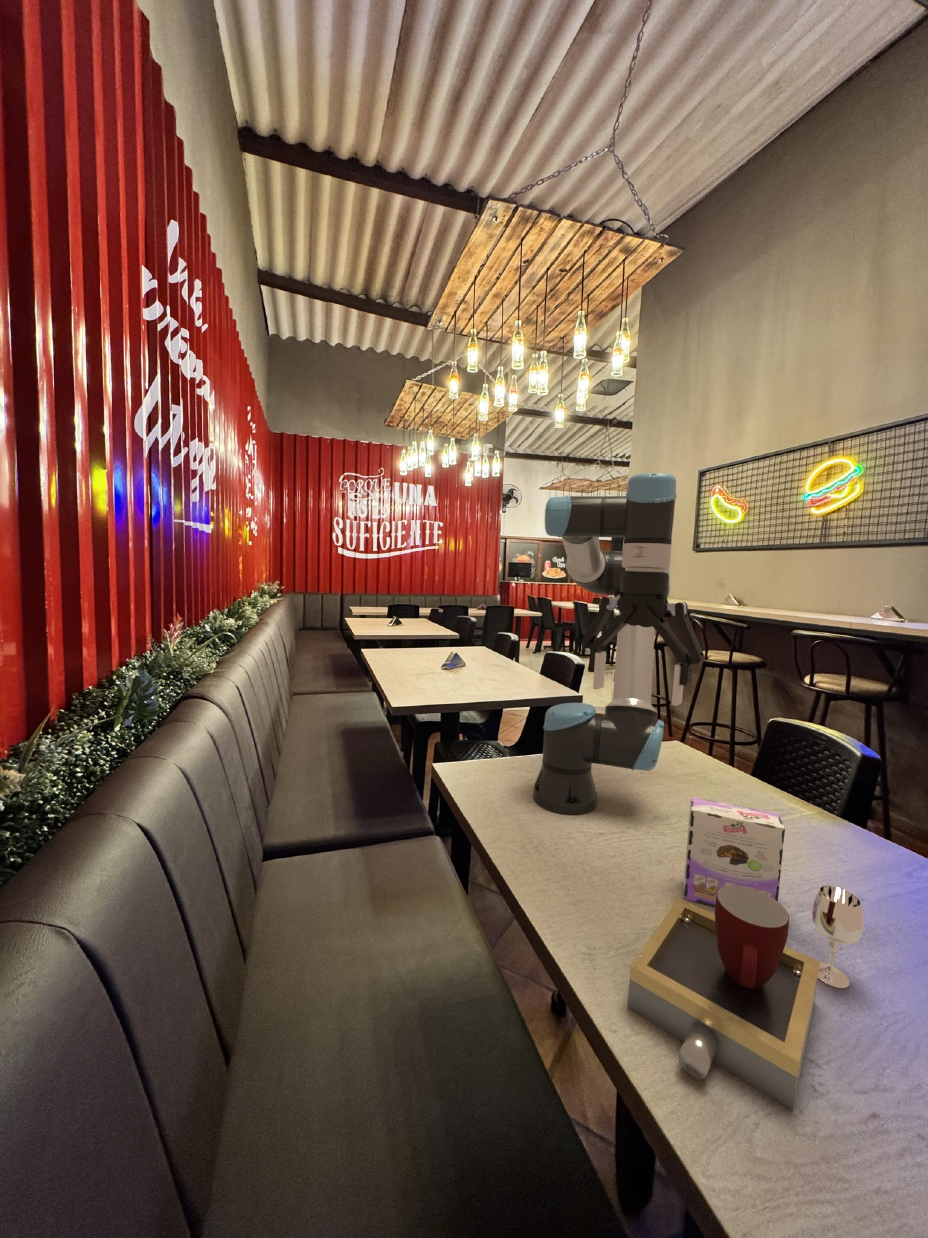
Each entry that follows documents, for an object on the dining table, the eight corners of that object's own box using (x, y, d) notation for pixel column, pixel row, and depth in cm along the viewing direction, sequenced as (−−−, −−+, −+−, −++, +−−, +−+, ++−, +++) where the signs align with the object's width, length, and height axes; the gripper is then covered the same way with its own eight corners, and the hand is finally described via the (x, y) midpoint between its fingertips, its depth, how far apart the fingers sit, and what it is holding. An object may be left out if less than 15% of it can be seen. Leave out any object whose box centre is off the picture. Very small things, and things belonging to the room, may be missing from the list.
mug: (792, 1032, 57) (802, 951, 56) (714, 1006, 60) (722, 929, 59) (773, 964, 67) (781, 895, 65) (707, 945, 69) (713, 878, 68)
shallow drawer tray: (614, 1028, 61) (617, 985, 60) (674, 932, 78) (678, 898, 77) (786, 1144, 49) (792, 1092, 49) (814, 1002, 66) (819, 962, 65)
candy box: (770, 903, 85) (780, 812, 83) (776, 925, 80) (787, 829, 78) (682, 880, 91) (690, 794, 89) (682, 899, 86) (690, 808, 84)
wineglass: (795, 959, 73) (804, 883, 72) (831, 958, 73) (841, 882, 72) (827, 993, 67) (837, 911, 66) (866, 991, 68) (877, 910, 66)
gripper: (566, 567, 88) (559, 685, 90) (720, 573, 71) (707, 716, 74) (586, 568, 93) (579, 679, 96) (734, 573, 77) (721, 707, 79)
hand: (635, 695), depth 85 cm, fingers open, 13 cm apart
